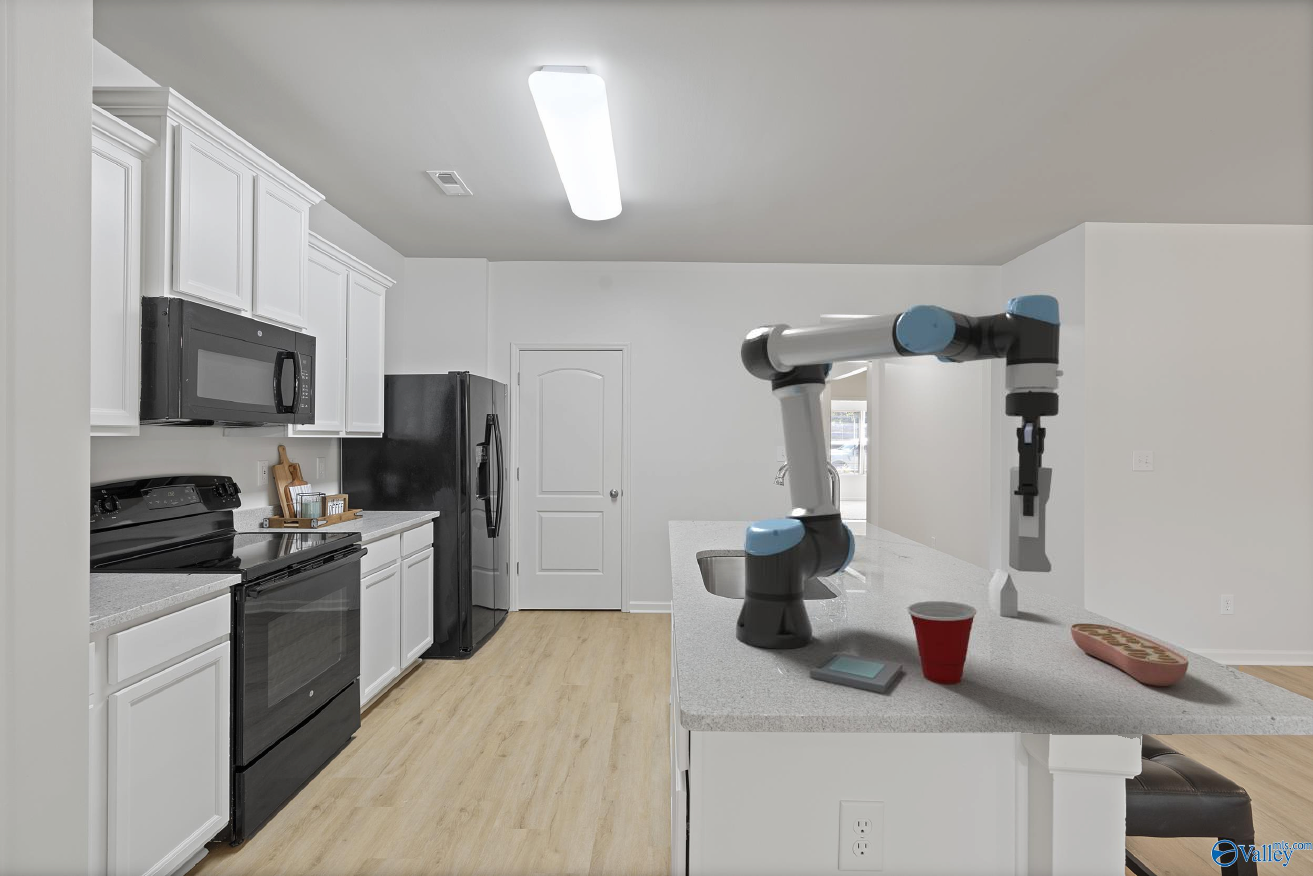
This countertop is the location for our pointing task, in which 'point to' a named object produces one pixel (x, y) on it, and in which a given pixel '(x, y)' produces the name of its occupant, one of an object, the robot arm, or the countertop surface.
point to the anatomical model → (1131, 653)
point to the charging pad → (857, 671)
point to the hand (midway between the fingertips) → (1029, 534)
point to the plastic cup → (942, 638)
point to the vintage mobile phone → (1028, 549)
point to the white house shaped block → (1003, 594)
